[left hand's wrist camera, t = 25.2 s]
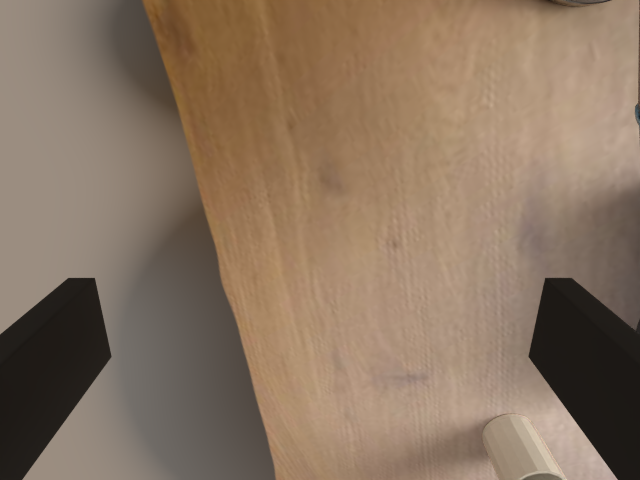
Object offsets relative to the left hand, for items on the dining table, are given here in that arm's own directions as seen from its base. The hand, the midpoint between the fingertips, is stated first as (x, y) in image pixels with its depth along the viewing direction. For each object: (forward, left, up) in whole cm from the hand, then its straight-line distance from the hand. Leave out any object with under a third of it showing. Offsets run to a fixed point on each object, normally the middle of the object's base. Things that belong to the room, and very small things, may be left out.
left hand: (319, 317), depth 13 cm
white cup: (+40, +26, -35) cm, 59 cm away
